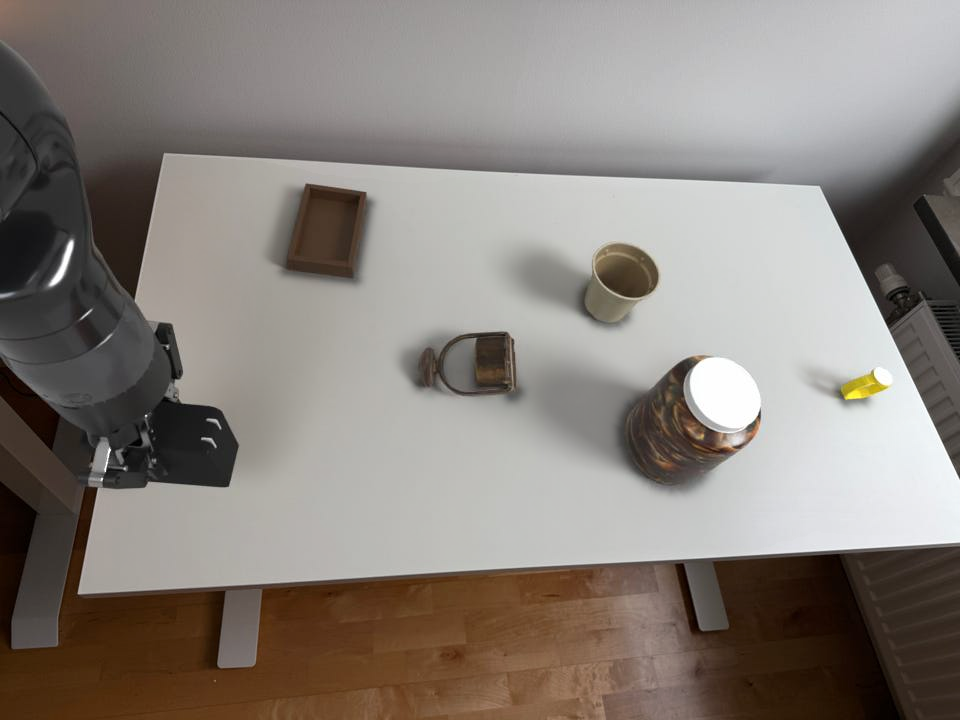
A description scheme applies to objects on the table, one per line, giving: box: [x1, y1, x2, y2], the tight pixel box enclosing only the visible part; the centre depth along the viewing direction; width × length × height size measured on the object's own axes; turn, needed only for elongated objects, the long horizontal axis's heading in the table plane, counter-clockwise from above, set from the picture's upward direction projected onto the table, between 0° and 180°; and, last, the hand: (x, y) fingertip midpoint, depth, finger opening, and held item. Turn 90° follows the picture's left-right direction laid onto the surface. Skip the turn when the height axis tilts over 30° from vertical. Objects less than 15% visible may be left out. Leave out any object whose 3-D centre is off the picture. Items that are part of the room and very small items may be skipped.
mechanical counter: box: [418, 330, 517, 397], centre depth 75 cm, size 7×13×10 cm
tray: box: [286, 182, 368, 279], centre depth 84 cm, size 9×14×2 cm, turn 177°
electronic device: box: [78, 401, 240, 488], centre depth 53 cm, size 4×10×10 cm, turn 88°
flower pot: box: [583, 241, 662, 324], centre depth 83 cm, size 9×9×9 cm
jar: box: [623, 354, 762, 487], centre depth 71 cm, size 12×12×15 cm
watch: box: [839, 366, 893, 401], centre depth 83 cm, size 6×3×6 cm, turn 99°
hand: (165, 444), depth 53 cm, fingers closed on electronic device, 4 cm apart
